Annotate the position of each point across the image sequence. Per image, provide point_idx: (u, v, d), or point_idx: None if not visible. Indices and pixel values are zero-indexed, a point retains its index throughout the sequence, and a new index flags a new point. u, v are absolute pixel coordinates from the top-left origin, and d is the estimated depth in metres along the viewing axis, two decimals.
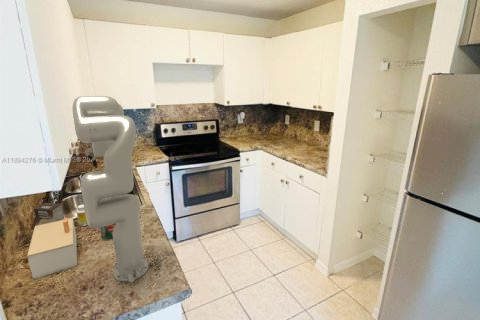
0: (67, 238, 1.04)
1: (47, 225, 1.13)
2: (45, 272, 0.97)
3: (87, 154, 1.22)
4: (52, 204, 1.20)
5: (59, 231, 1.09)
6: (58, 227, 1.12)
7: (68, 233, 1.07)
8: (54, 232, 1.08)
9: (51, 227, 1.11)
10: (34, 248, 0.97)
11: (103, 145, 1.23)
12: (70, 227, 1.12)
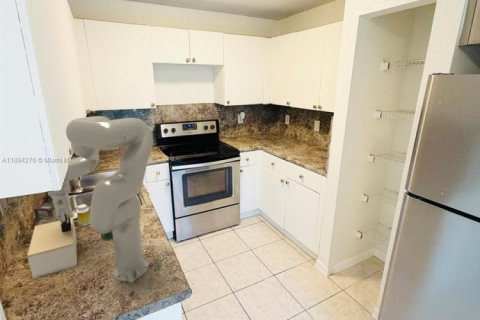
0: (67, 238, 1.04)
1: (47, 225, 1.13)
2: (45, 272, 0.97)
3: (65, 219, 1.03)
4: (52, 204, 1.20)
5: (59, 231, 1.09)
6: (58, 227, 1.12)
7: (68, 233, 1.07)
8: (54, 232, 1.08)
9: (51, 227, 1.11)
10: (34, 248, 0.97)
11: (69, 201, 1.06)
12: None
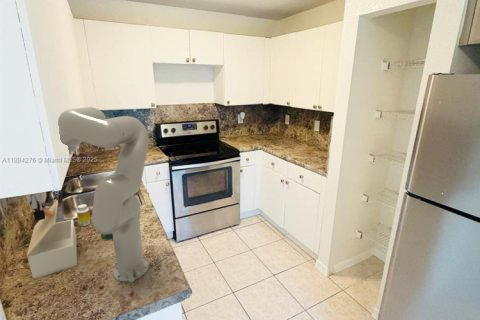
0: (51, 221, 0.99)
1: (41, 220, 1.11)
2: (45, 272, 0.97)
3: (37, 206, 0.97)
4: (52, 204, 1.20)
5: (47, 219, 1.05)
6: None
7: (52, 216, 1.03)
8: (44, 222, 1.05)
9: (43, 219, 1.09)
10: (31, 246, 0.96)
11: None
12: (54, 210, 1.07)
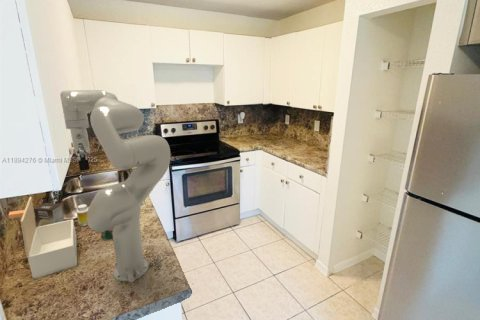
0: None
1: None
2: (45, 272, 0.97)
3: (84, 153, 0.95)
4: (52, 204, 1.20)
5: None
6: None
7: None
8: None
9: None
10: None
11: None
12: None
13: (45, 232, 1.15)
